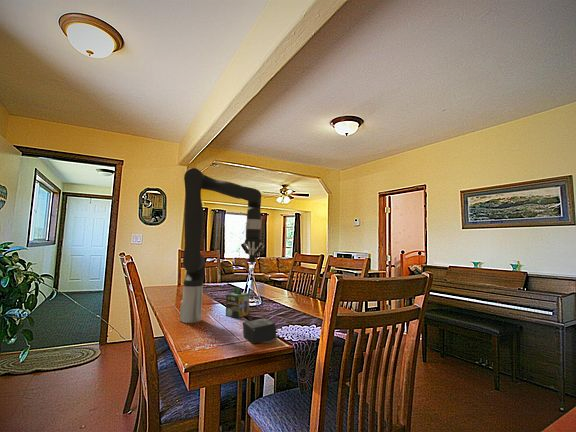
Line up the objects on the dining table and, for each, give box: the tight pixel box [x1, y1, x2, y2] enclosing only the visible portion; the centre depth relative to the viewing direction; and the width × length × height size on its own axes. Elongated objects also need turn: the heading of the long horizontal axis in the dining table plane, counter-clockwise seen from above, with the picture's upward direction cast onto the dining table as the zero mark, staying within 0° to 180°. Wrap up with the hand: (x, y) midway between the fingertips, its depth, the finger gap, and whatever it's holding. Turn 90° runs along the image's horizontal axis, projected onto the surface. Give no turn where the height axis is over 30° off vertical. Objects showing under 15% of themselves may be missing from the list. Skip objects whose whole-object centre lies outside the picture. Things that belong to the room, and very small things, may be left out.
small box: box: [242, 317, 277, 344], centre depth 127 cm, size 11×6×10 cm
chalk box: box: [225, 287, 250, 319], centre depth 164 cm, size 9×9×15 cm
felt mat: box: [261, 333, 280, 344], centre depth 128 cm, size 4×11×1 cm, turn 161°
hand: (252, 262), depth 156 cm, fingers closed
